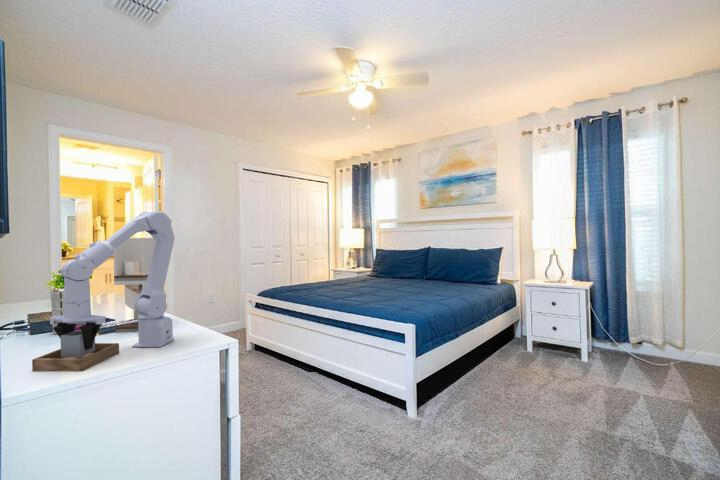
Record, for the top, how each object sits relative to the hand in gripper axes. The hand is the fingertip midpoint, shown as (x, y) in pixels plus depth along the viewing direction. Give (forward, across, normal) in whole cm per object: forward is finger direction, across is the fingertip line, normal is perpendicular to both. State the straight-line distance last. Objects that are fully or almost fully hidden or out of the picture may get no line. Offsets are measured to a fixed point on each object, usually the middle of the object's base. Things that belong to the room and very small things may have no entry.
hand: (78, 348), depth 98 cm
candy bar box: (+4, -29, +31) cm, 43 cm away
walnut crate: (+4, 0, 0) cm, 4 cm away
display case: (+4, -6, +35) cm, 36 cm away
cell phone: (+4, -31, +46) cm, 56 cm away
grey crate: (+1, 0, 0) cm, 1 cm away
